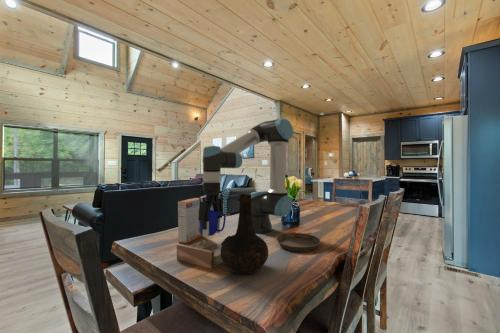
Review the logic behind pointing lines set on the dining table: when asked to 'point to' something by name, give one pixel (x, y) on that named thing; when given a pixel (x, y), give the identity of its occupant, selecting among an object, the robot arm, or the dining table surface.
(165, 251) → the dining table surface
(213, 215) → the mug
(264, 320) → the dining table surface
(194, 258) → the channel
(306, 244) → the plant saucer
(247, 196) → the dark brown vase
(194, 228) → the cracker box
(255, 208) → the robot arm
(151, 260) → the dining table surface
